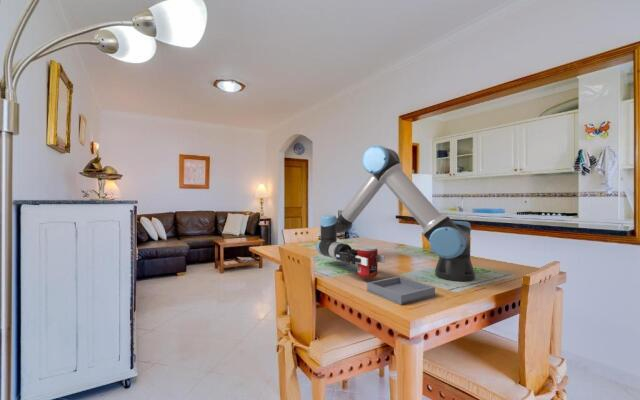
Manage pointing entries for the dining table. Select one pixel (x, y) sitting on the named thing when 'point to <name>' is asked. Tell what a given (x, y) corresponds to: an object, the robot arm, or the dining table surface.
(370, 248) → the canned food
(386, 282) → the tray
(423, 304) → the dining table surface
